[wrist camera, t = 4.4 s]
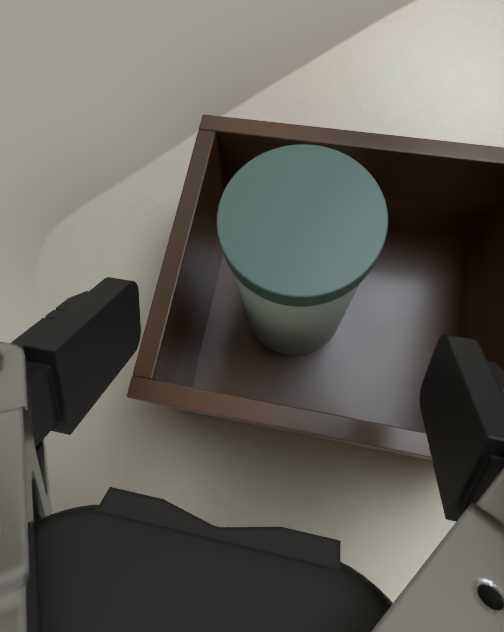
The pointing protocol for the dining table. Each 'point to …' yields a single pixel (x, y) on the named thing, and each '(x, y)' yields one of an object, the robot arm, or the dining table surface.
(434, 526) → the dining table surface
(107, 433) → the dining table surface
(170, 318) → the chest
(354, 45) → the dining table surface
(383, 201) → the canister
